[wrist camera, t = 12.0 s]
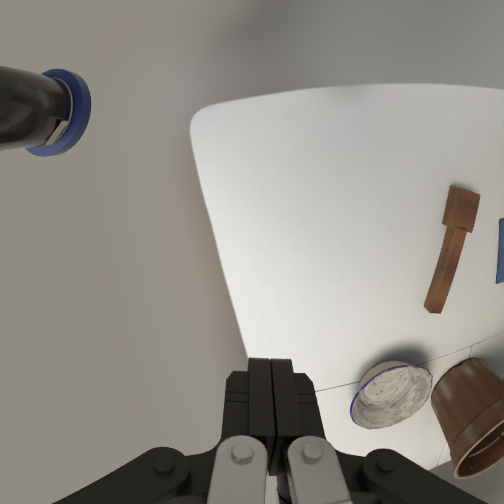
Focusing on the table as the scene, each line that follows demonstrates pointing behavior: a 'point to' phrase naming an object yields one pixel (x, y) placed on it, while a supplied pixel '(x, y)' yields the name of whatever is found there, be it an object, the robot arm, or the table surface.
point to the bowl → (390, 394)
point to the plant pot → (471, 416)
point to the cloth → (500, 253)
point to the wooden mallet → (452, 244)
